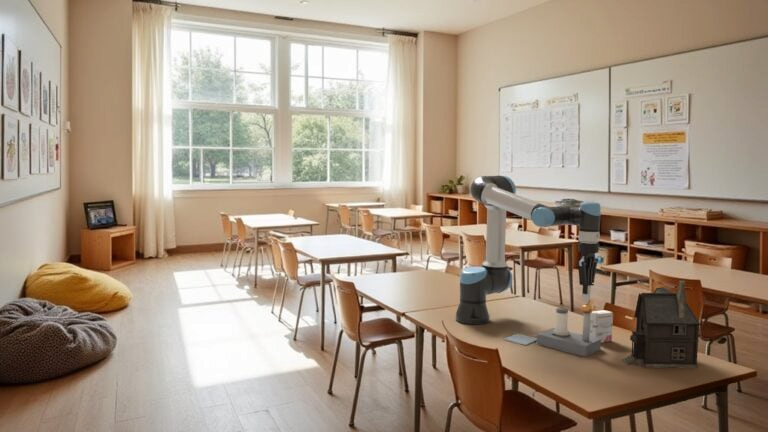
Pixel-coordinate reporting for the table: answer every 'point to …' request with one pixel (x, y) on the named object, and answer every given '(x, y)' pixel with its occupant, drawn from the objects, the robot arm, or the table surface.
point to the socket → (572, 340)
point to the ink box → (601, 325)
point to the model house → (664, 331)
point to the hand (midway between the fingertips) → (585, 301)
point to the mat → (520, 339)
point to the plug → (561, 323)
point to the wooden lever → (589, 306)
